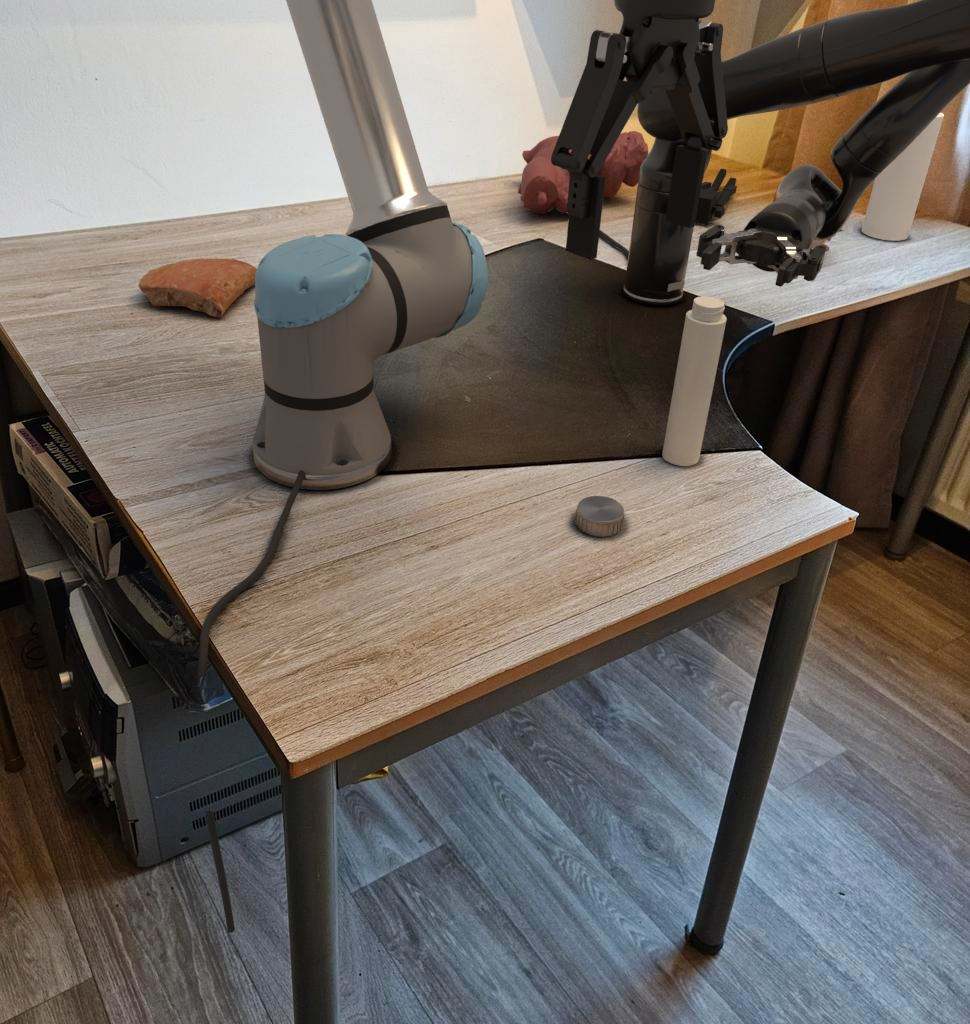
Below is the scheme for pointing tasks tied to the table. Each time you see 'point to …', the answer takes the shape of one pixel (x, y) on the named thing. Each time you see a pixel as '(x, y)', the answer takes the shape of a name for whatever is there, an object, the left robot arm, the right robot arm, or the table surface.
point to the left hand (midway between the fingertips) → (632, 238)
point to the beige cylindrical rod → (694, 381)
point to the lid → (599, 516)
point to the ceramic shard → (199, 284)
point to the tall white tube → (901, 188)
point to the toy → (714, 198)
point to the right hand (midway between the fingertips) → (743, 269)
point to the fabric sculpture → (551, 182)
